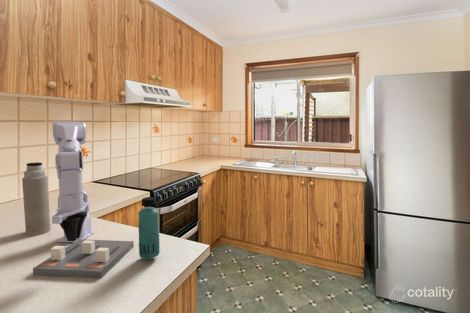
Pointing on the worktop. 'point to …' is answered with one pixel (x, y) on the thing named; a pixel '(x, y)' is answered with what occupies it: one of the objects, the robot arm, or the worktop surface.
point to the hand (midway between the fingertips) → (73, 239)
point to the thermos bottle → (36, 200)
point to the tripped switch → (88, 247)
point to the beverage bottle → (148, 229)
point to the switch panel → (83, 259)
